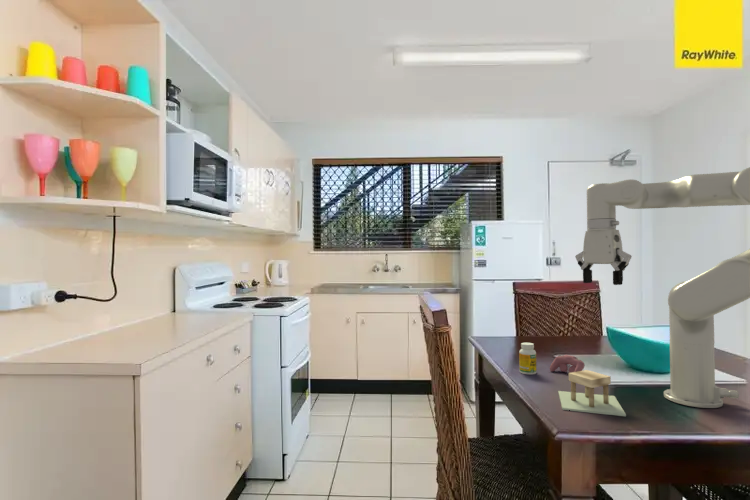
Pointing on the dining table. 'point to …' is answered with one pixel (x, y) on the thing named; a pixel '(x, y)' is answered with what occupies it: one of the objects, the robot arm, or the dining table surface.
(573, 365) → the video game controller
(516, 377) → the dining table surface
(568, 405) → the mat
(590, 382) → the stool
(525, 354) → the supplement bottle
